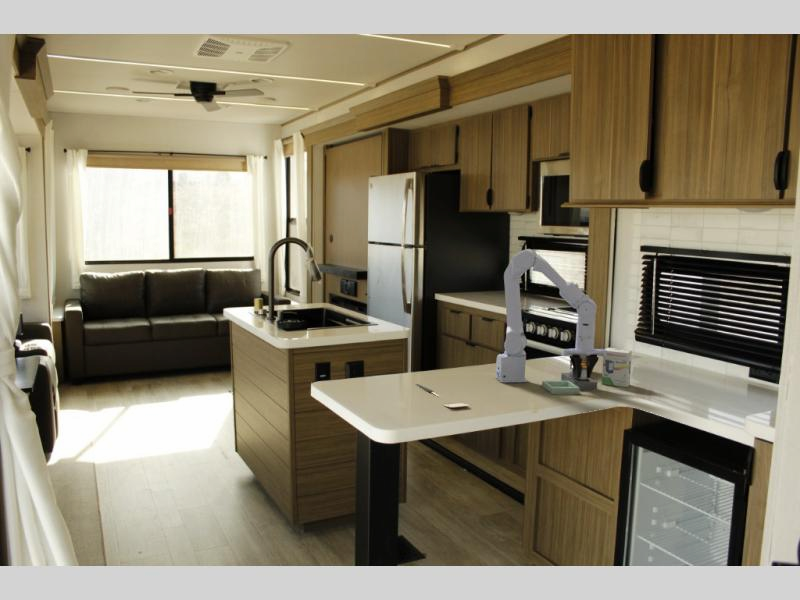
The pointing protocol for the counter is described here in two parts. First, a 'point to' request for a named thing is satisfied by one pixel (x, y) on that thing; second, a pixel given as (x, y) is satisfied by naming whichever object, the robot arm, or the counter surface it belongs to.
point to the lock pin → (583, 372)
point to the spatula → (438, 395)
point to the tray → (560, 387)
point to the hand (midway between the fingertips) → (582, 377)
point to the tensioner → (583, 385)
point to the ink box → (617, 367)
